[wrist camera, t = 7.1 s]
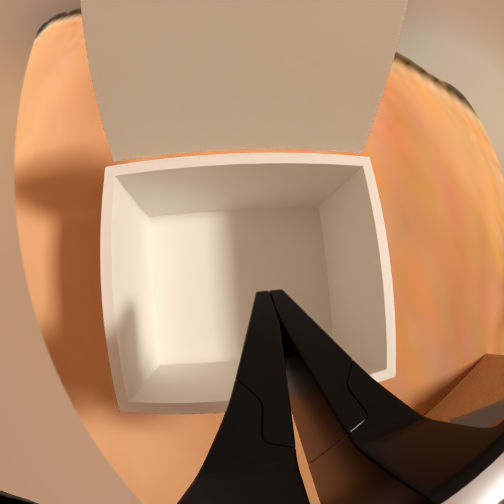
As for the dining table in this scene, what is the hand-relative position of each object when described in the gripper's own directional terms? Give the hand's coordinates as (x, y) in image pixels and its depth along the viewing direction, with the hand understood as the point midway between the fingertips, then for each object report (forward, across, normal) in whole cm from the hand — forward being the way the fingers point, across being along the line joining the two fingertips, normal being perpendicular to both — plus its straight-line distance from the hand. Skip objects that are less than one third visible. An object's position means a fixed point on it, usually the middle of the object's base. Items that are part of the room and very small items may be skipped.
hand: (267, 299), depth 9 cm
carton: (+8, 0, +7) cm, 11 cm away
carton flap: (+5, 0, -9) cm, 10 cm away
